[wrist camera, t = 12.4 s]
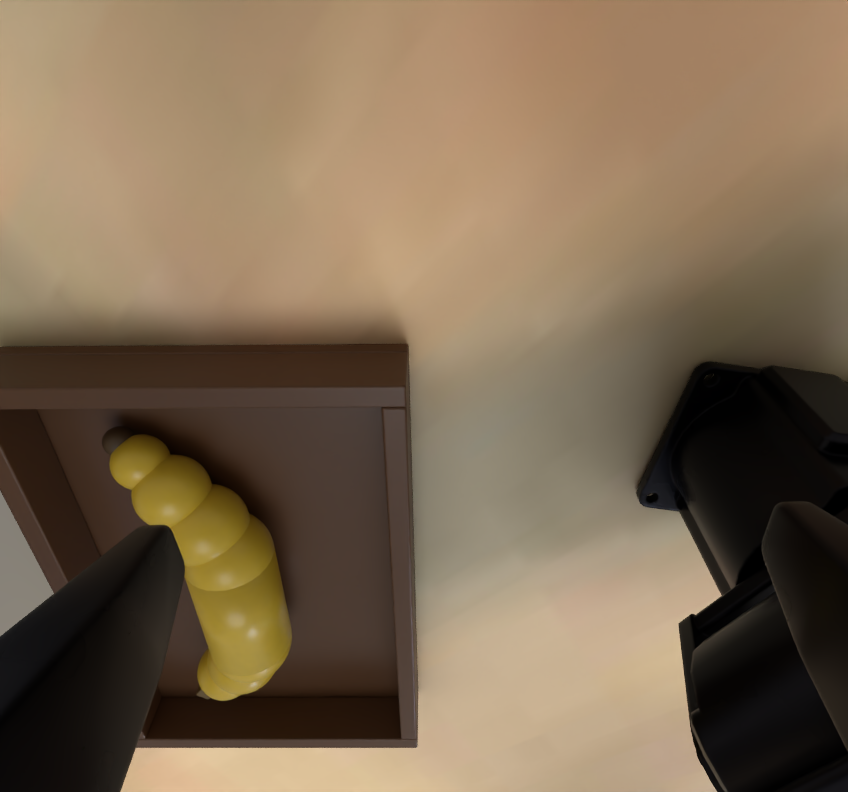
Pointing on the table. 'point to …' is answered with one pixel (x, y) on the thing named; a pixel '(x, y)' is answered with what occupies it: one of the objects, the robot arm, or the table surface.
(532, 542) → the table surface
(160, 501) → the banana
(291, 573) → the tray
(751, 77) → the table surface
